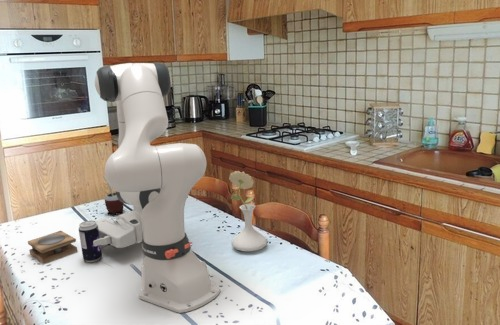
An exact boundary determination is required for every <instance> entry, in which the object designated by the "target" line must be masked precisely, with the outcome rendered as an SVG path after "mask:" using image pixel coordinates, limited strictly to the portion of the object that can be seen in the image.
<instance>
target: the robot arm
mask: <svg viewBox="0 0 500 325" xmlns="http://www.w3.org/2000/svg"><path fill="white" fill-rule="evenodd" d="M172 80H173V79H172V75H171V73H170V70H169V68H168V67H167V66H166V64H164V63H161V62H155V61H154V62H151V63H150V62H126V63H119V64H114V65H104V66H102V67H99V68H98V70H97V71H96V74H95V78H94V87H95V90H96V92H97V94H98V96H99V98H100V99H101V100H103V101H104V102H107V103H109V102H110V103H114V102H116V114H117V117H116V118H117V123H118V139H117V146H116V147H117V148H116V150H115V151H114V152H113V153H112V154H110V156H109V157H108V158H107V160H106V163H105V164H104V176H105V178H106V179H105V178H104V179H105V181H106V180H107V181H106V184H107V183H108V184H109V185H110V187H111V190H112V191H115V193H116V195H117V198H118V199H119V200H120V201H121V202H122V203H123V204H125V205H128V206H129V205H130V206H132V207H133V209H132V210H131V211H128V212H124V213H123V214H117V216H115V217H116V218H115V220H114V219H111V218H108V217H106V218H101V219H97V220H94V221H95V222H96V224H97V225H98V230H99V237H100V239H97V238H96V239H94V240H92V245H94V246H98V245H101V246H103V245H108V244H109V245H110V246H113V247H115V248H117V249H123V248H126V247H129V246H132V245H134V244H140V243H141V248H142V253H143V256H144V257H143V262H142V264H141V272H140V273H141V290H140V291H139V293H138V299H140V300H143V301H145V302H148V303H151V304H153V305H156V306H159V307H161V308H164V309H168V310H170V311H172V312H175V313H179V314H181V313H183V314H184V313H186V312H191V311H194V310H197V309H199V308H200V307H203V306H204V305H206V304H208V303H210V302H211V301H213V300H214V299H216V298H217V297H218V296H219V294H220V292H221V288H220V286H219V285H218V284H216V283H215V282H214V281H213V280H212V279H211V277H210V272H209V270H208V269H207V268H208V267H207V266H208V265H207V263H206V262H205V261H204V260H203V261H201V260H200V259H199V257H198V256H197V255H196V253H194V252H193V250H192V247H193V245H192V243H193V242H191V241H190V239H189V238H188V235H187V233H186V231H185V230H186V229H185V206H186V201H187V199H188V196H189V194H190V192H191V190H192V189H193V187H195V185H196V184H197V183H198V182H199V181H200V180H201V179H202V178H203V177H204V175H205V173H206V170H207V158H206V155H205V152H204V151H203V150H202V148H201V147H200V146H199V145H198V144H196V143H188V142H187V143H184V142H178V143H177V142H176V143H170V144H161V145H160V144H159V145H151V143H152V142H153V141H154V140H156V139H157V138H159V137H161V136H162V135H163V134H164V133H165V132H166V130H167V128H168V125H169V118H168V114H167V110H166V106H165V100H164V98H163V97H166V96H167V95H169V93H170V92H171V88H172V82H173V81H172ZM108 184H107V185H108Z"/></svg>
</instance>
